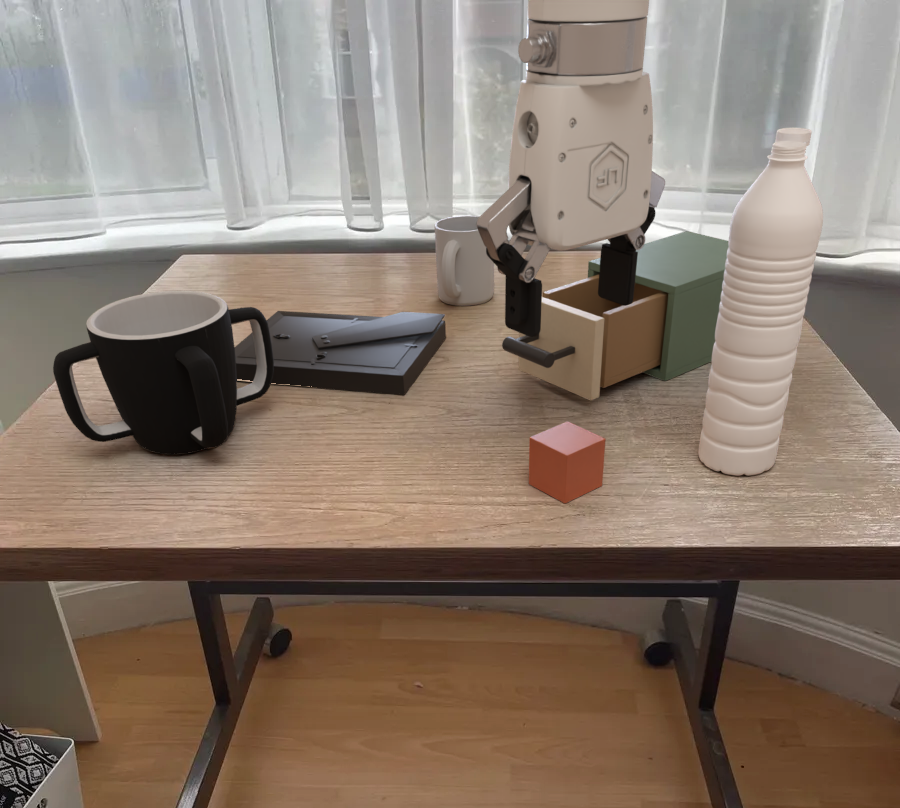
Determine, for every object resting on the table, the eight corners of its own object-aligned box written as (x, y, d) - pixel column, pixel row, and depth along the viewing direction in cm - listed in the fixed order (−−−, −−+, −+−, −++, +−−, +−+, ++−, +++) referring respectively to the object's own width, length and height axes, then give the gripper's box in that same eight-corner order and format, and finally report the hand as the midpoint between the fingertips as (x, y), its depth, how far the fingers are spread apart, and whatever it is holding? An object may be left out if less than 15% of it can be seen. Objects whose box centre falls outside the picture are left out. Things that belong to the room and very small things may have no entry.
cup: (502, 290, 116) (501, 217, 111) (474, 316, 109) (473, 240, 103) (450, 285, 118) (447, 214, 113) (420, 311, 111) (415, 236, 106)
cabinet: (665, 381, 92) (675, 286, 86) (583, 350, 99) (588, 261, 93) (759, 341, 99) (774, 251, 93) (676, 315, 106) (686, 230, 101)
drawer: (559, 413, 85) (562, 333, 80) (487, 381, 91) (486, 304, 86) (689, 360, 94) (698, 284, 89) (615, 333, 100) (620, 262, 95)
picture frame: (446, 338, 103) (280, 327, 108) (444, 314, 102) (276, 304, 107) (404, 395, 91) (220, 380, 96) (402, 368, 90) (215, 355, 95)
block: (602, 485, 75) (606, 438, 73) (564, 504, 73) (567, 455, 71) (565, 467, 78) (567, 420, 76) (528, 484, 76) (529, 437, 73)
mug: (300, 408, 90) (281, 287, 83) (220, 487, 78) (191, 353, 71) (158, 393, 94) (129, 277, 87) (62, 465, 82) (19, 338, 75)
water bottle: (771, 482, 75) (837, 152, 60) (692, 471, 77) (736, 149, 62) (780, 436, 81) (841, 128, 66) (706, 427, 83) (750, 126, 68)
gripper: (524, 71, 51) (517, 360, 61) (718, 43, 59) (684, 302, 70) (442, 61, 56) (449, 330, 66) (633, 36, 64) (613, 279, 74)
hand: (570, 315), depth 68 cm, fingers open, 9 cm apart
